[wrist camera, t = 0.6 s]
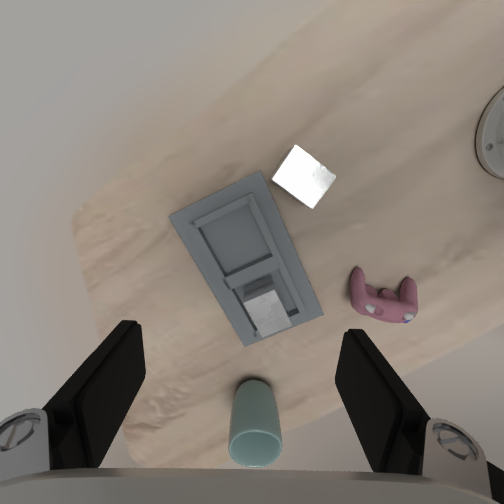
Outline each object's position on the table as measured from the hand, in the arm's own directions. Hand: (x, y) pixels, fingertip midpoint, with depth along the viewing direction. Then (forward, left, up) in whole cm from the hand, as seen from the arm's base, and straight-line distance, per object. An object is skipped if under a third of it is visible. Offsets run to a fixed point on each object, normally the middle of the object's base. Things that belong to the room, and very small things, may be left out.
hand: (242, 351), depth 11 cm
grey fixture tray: (+2, +5, -24) cm, 25 cm away
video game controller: (-15, +17, -25) cm, 33 cm away
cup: (+12, +27, -24) cm, 38 cm away
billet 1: (+2, +10, -23) cm, 25 cm away
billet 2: (-9, -4, -24) cm, 26 cm away
